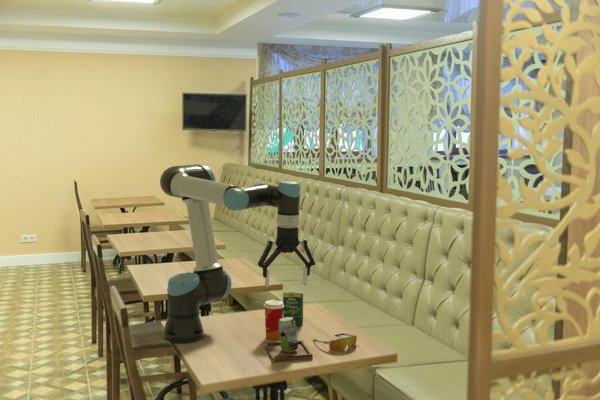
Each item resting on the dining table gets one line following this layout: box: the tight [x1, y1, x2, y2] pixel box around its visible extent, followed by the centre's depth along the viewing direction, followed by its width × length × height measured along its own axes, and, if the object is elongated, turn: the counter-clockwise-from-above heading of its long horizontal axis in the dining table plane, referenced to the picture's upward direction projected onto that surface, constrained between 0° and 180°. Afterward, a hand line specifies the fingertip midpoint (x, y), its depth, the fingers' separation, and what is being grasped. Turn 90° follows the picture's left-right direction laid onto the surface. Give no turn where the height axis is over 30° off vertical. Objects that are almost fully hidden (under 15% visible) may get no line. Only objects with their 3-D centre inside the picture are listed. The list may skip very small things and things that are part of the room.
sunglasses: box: [313, 332, 358, 352], centre depth 244 cm, size 14×15×5 cm
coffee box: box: [282, 291, 304, 327], centre depth 263 cm, size 8×3×13 cm, turn 70°
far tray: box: [264, 339, 313, 363], centre depth 233 cm, size 14×14×2 cm
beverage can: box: [278, 317, 298, 352], centre depth 232 cm, size 6×7×12 cm
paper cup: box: [263, 299, 284, 342], centre depth 247 cm, size 8×8×14 cm
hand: (285, 285), depth 229 cm, fingers open, 13 cm apart
